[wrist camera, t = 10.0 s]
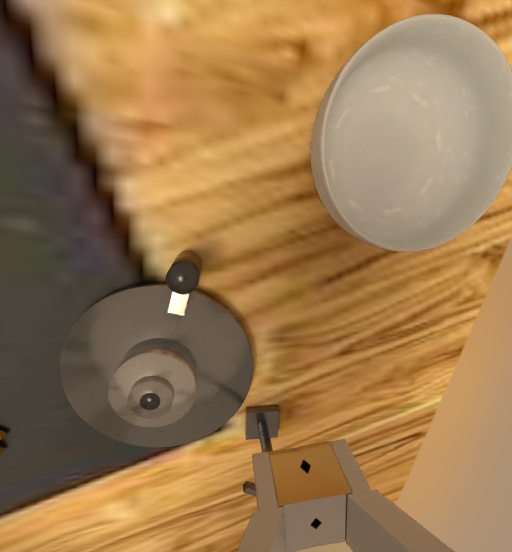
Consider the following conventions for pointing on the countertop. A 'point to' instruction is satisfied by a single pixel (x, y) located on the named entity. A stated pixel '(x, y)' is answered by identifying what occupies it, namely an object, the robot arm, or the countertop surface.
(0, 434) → the gear puzzle
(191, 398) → the cover
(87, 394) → the turntable
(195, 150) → the countertop surface
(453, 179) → the cereal bowl
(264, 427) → the lever with square base
